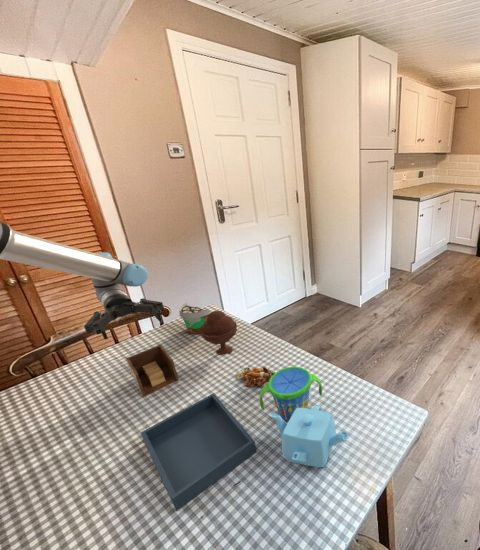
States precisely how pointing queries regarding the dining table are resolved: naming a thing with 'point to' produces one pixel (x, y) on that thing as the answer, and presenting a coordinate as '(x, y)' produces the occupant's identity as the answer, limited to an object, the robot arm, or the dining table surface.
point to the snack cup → (290, 390)
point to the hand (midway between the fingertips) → (133, 325)
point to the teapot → (308, 436)
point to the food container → (194, 318)
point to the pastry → (255, 376)
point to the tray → (197, 448)
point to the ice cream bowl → (219, 331)
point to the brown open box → (147, 357)
